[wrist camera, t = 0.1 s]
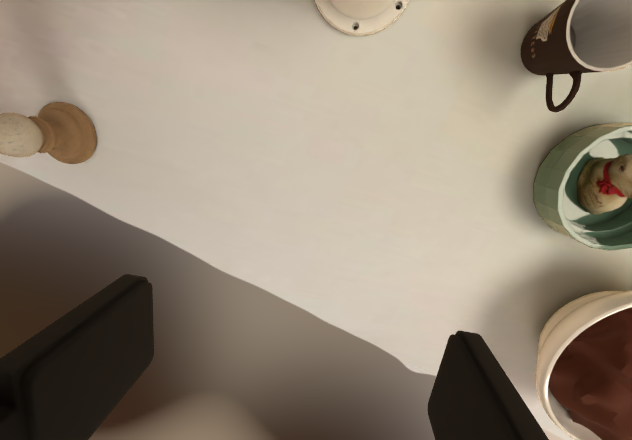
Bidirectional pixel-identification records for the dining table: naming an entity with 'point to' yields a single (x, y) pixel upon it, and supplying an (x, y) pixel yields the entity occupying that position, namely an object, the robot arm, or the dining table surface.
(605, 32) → the coffee mug
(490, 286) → the dining table surface
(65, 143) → the candle holder
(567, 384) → the cream round dish
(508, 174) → the dining table surface
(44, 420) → the robot arm
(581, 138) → the bowl
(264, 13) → the dining table surface
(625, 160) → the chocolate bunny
